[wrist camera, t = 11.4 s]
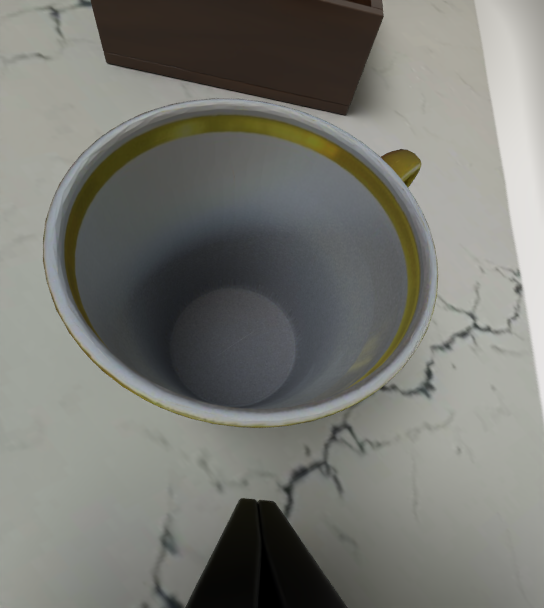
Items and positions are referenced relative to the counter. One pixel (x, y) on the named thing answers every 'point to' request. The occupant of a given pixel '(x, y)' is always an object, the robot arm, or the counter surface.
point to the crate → (247, 44)
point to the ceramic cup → (241, 262)
